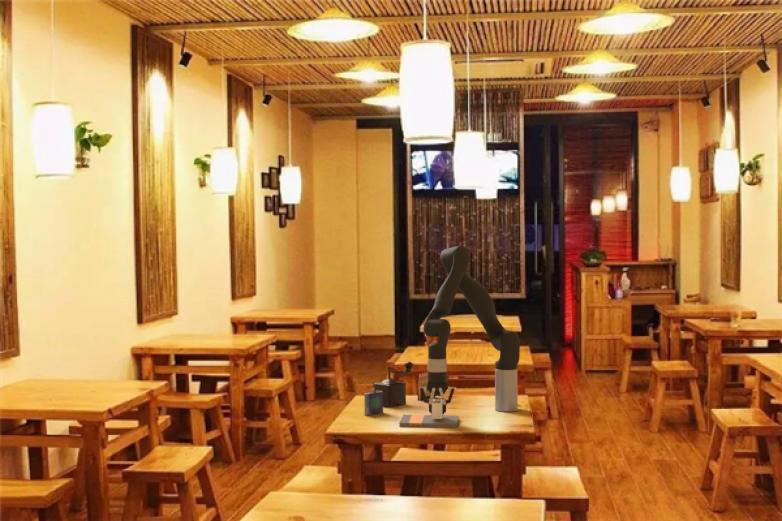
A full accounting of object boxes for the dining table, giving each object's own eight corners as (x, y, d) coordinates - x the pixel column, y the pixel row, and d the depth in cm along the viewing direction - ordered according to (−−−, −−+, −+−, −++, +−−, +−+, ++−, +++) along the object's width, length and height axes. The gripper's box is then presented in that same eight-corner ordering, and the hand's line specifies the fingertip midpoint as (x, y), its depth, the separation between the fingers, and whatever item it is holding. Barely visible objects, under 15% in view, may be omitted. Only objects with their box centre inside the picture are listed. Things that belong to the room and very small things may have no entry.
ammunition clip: (420, 400, 410) (420, 373, 409) (417, 400, 411) (417, 373, 410) (435, 397, 418) (434, 370, 418) (431, 396, 419) (431, 370, 419)
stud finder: (443, 414, 368) (443, 398, 368) (442, 418, 360) (442, 402, 360) (433, 414, 368) (433, 398, 368) (431, 418, 360) (431, 402, 360)
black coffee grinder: (390, 408, 395) (390, 365, 394) (372, 404, 402) (372, 363, 402) (415, 402, 406) (415, 361, 405) (397, 399, 413) (397, 359, 413)
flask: (366, 416, 379) (366, 389, 379) (362, 414, 381) (362, 388, 381) (384, 413, 385) (384, 387, 384) (380, 411, 387) (380, 386, 387)
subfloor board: (458, 419, 371) (458, 415, 371) (456, 427, 356) (456, 423, 356) (403, 418, 374) (403, 414, 373) (399, 426, 359) (399, 422, 359)
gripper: (456, 368, 366) (456, 412, 367) (419, 368, 368) (420, 411, 369) (455, 371, 359) (455, 415, 360) (418, 371, 360) (418, 415, 361)
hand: (437, 413), depth 364 cm, fingers closed on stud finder, 4 cm apart
